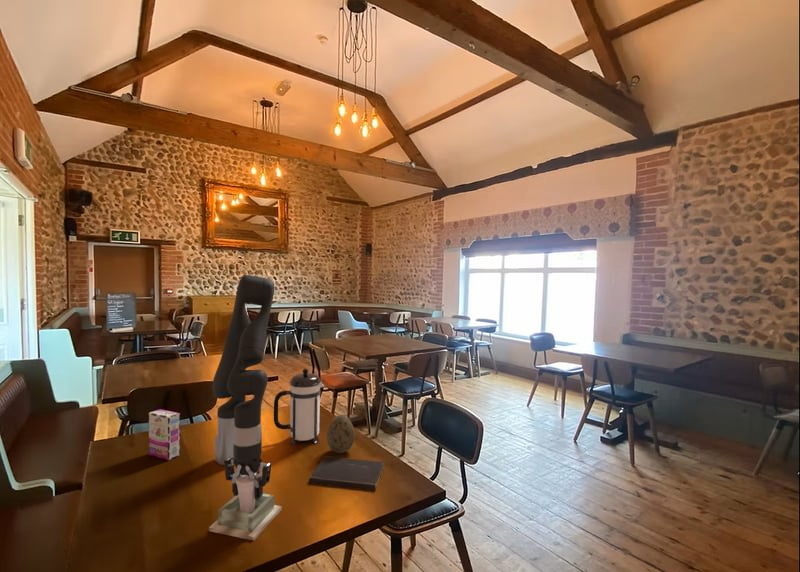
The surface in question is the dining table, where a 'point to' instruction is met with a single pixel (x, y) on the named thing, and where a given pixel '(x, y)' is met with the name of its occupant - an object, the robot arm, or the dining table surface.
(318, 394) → the coffee press
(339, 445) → the decorative egg
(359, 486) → the hardcover book
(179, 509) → the dining table surface
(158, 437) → the candy bar box
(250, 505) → the smoothie
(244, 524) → the green glass shallow box
